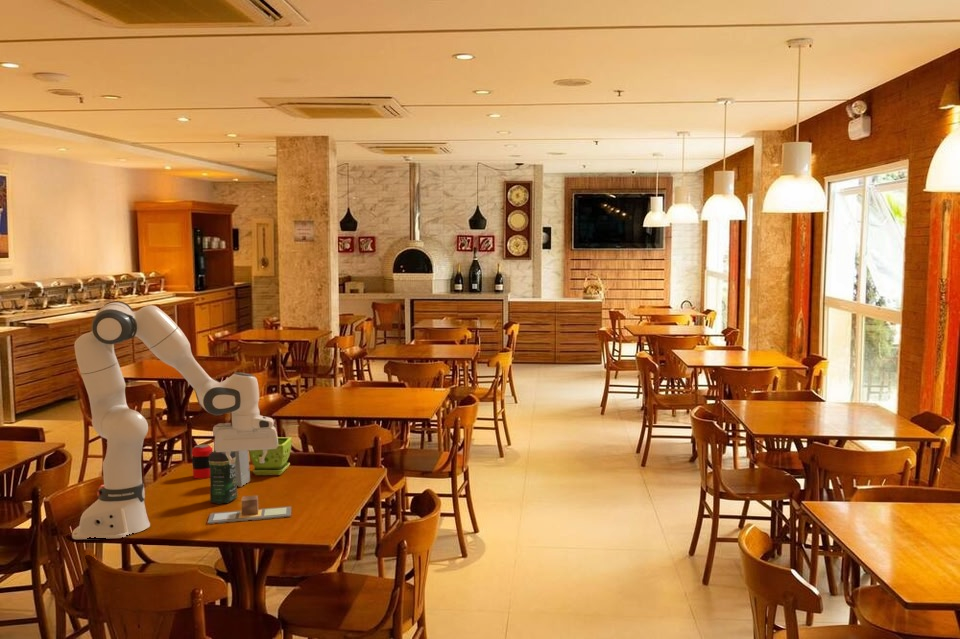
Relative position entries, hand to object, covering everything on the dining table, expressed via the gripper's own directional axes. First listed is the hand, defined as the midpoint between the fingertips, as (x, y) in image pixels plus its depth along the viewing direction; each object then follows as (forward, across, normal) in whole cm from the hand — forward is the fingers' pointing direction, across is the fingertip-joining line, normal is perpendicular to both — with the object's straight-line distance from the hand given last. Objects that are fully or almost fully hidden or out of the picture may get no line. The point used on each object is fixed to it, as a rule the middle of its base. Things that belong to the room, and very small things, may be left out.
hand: (247, 463), depth 276 cm
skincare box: (+17, -6, +41) cm, 45 cm away
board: (+17, +1, -1) cm, 17 cm away
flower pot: (+17, +6, +55) cm, 58 cm away
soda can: (+17, -20, +57) cm, 63 cm away
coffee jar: (+17, -9, +20) cm, 28 cm away
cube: (+16, +1, 0) cm, 17 cm away
